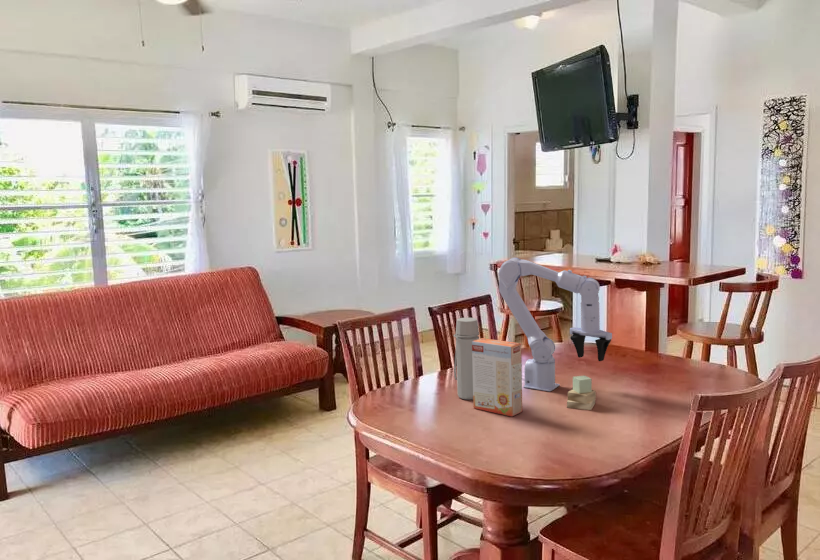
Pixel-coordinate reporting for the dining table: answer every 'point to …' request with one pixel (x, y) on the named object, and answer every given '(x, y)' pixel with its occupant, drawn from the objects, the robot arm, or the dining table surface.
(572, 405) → the beech slab bottom
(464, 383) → the water bottle
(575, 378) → the sage cube
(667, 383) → the dining table surface
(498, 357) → the cracker box
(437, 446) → the dining table surface
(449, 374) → the dining table surface
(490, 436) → the dining table surface
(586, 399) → the beech slab top
